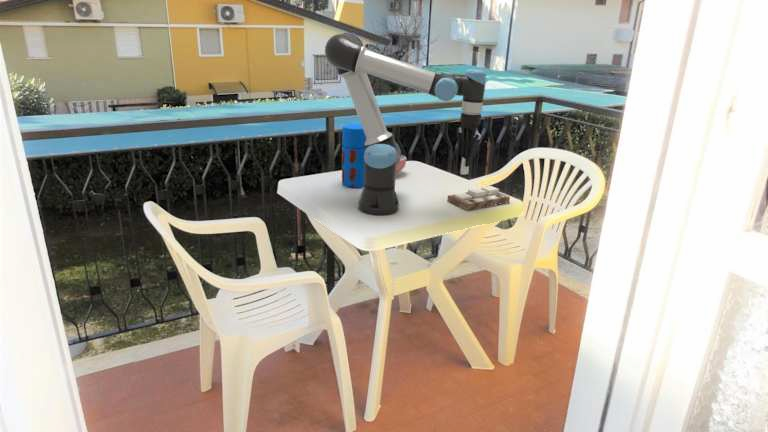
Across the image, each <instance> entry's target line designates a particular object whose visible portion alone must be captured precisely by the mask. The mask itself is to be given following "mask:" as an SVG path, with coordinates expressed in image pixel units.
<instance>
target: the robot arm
mask: <svg viewBox="0 0 768 432" xmlns="http://www.w3.org/2000/svg"><path fill="white" fill-rule="evenodd" d="M324 55H325V58H326V60H327V61H328V63H329V64H330V65H331V66H333V67H335V69H336V71H337V74H338V76H339V77H341V78H343V79H344V81H345V84H346V87H347V89H348V92H349V95H350V98H351V100H352V103H353V107H354V109H355V111H356V114H357V117H358V119H359V122H360V125H362V128H363V131H364V133H365V136H366V141H365V143H364V145H365V147H366V150H365V154H364V187H363V190H362V192H361V194H360V197H359V200H358V210H359V211H360V212H362V213H366V214H367V215H375V216H384V215H385V216H386V215H387V216H388V215H392V214H396V213H397V212H398V211H399V207H400V205H399V204H400V203H399V199H398V196H397V194H396V193H397V192H396V174H397V173H396V168H397V166H398V164H399V162H400V159H401V155H402V151H401V149H400V146H399V144H398V143H397V142H396V140H395V137H394V134H393V133H392V132H390V131H389V130H387V127H386V123H385V121H384V117H383V115H382V113H381V110H380V107H379V104H378V102H377V99H376V96H375V93H374V90H373V87H372V84H371V81H370V79H369V76H370V75H371V76H373V77H376V78H379V79H383V80H384V81H385V80H386V81H389V82H391V83H394V84H398V85H401V86H404V87H406V88H409V89H413V90H416V91H419V92H422V93H424V94H427V95H430V96H433V97H436V98H437V99H439V100H440V101H443V102H448V101H451V100H453V99H454V98H455V97H456V96H462V102H461V109H460V110H461V113H460V118H459V119H460V121H459V122H460V123H461V125H460V127H458V128H457V127H456V128H455V131H456V141H457V142H456V144H457V155H460V158H461V159H460V170H459V171H460V172H459V173H460V175H462V176H464V175H469V171H470V170H469V169H470V166H471V160H472V158H476V155H477V152H478V149H479V145H480V142H481V140H482V138H483V134H480V133H479V126H480V124H481V121H482V114H481V113H482V112H483V104H484V97H485V96H484V95H485V88H486V80H487V79H486V78H487V72H485V71H484V70H482V69H472V68H471V69H466V70H465V73H464V74H455V73H444V72H434V71H432V70H431V71H430V70H428V69H425V68H423V67H419V66H417V65H413V64H410V63H408V62H404V61H402V60H399V59H396V58H393V57H389V56H387V55H384V54H381V53H378V52H375V51H372V50H369V49H368V48H367V46H366V45H364V43H363V41H362V40H361V38H360V37H359V36H357V35H356V34H354V33H350V32H342V33H338V34H334V35H332V36H331V37H330V38H329V39H328V40H327V41H326V44H325V47H324ZM368 75H369V76H368Z"/></svg>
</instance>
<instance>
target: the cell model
mask: <svg viewBox="0 0 768 432" xmlns="http://www.w3.org/2000/svg"><path fill="white" fill-rule="evenodd" d="M406 162H407V157H406V156H405V155H402V154H401V159H400V162H399V164H398V166H397V168H396V174H397V173H399V172H400V171H402V170H403V169H404V168H405V166H406Z"/></svg>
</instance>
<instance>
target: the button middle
mask: <svg viewBox="0 0 768 432" xmlns="http://www.w3.org/2000/svg"><path fill="white" fill-rule="evenodd" d="M467 192H468V195H470V196H472V197H474V198H480V197H485V196H486V191H484V190H481V188H478V187H476V188H475V187H474V188H470V189H469V188H468V189H467Z"/></svg>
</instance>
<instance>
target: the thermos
mask: <svg viewBox="0 0 768 432" xmlns="http://www.w3.org/2000/svg"><path fill="white" fill-rule="evenodd" d="M341 133H342V138H341V140H342V141H341V143H342V144H341V146H342V147H341V153H342V154H341V184H342V186H343V187H345V188H348V189H362V188H363V189H364V154H365V150H366V147H365V145H364V143H365V141H366V136H365V133H364V131H363V128H362V125H361V123H360V124H357V123H356V124H355V123H351V124H350V123H349V124H344V125H342V132H341Z"/></svg>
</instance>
